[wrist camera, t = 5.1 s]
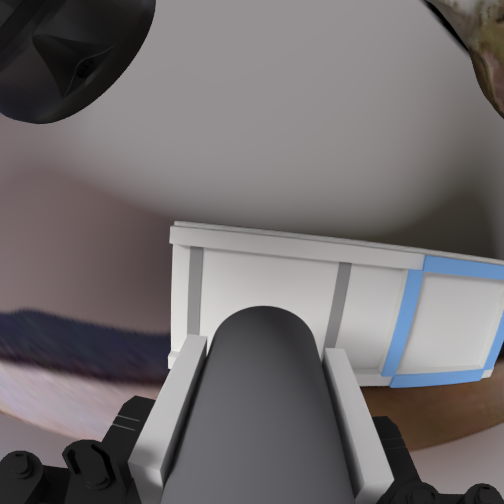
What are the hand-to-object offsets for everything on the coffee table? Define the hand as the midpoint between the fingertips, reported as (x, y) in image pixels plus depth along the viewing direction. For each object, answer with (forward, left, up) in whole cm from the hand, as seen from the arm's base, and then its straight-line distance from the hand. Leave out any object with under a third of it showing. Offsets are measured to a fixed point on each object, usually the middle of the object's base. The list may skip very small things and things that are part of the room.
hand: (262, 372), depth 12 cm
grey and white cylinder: (0, 0, -1) cm, 1 cm away
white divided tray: (+1, +7, -8) cm, 11 cm away
